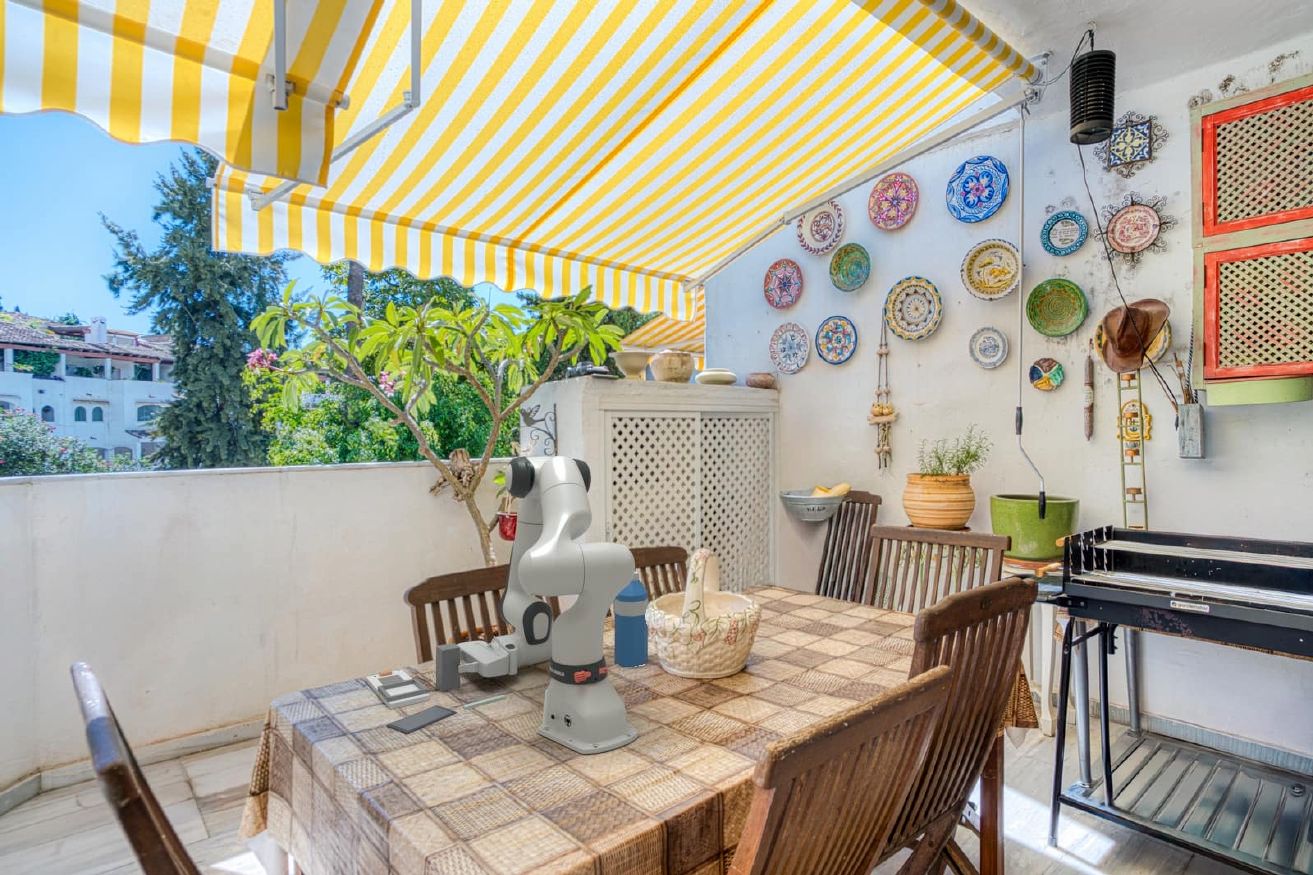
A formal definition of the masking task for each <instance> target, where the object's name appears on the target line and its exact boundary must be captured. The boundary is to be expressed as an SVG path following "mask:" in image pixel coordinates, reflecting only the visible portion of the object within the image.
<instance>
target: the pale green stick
mask: <svg viewBox="0 0 1313 875" xmlns="http://www.w3.org/2000/svg"><path fill="white" fill-rule="evenodd" d="M502 700H506V696H505V694H501V695H498V696H497V695H496V696H493V697H490V698H485V699H483V700H478V701H475V702H470V703H466V704H464V705H462V709H463V710H469V709H473V708H476V707H480V706H484V705H487V704H491V703H494V702H498V701H502Z"/></svg>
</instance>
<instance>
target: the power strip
mask: <svg viewBox="0 0 1313 875" xmlns="http://www.w3.org/2000/svg"><path fill="white" fill-rule="evenodd" d="M399 670H400V671H397V670H394V671H393V670H391V669H390V670H389V669H388V670H385V671H380V672H379V673H378V674H372V675H369V676H365V683H366V684H367V685H368V686H369V687H370V689H371V690H372V691H373V692H374V693H375V694H376V695H377V696H378V698H380V700H381V701H382V702H383V703H384V704H385V705H386V707H388V709H389V710H393V709H399V708H402V707H406V706H411V705H416V704H419V703H424V702H428V701H430V700H431V695H430V694H429V689H428V687H426V685H424V684H423V683H422V682H421V681H420V680H419V679H418V678H417V677H414V678H412V677H411V676H410V675H409V674H408V673H407V672H405V671H404V670H403V669H399ZM385 673H386V674H385ZM379 675H380V676H379ZM374 676H376V677H374Z"/></svg>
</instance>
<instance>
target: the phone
mask: <svg viewBox="0 0 1313 875" xmlns="http://www.w3.org/2000/svg"><path fill="white" fill-rule="evenodd" d="M457 713H458V712H457V711H455V710H453V709H450V708H446V707H443V706H442V705H441V706H440V705H437V704H436V705H433V706H431V707H429V708H426V709H423V710H421V711H418V712H415V713H414V714H411V715H408V716H406V717H403V718H401V719H399V720H395V721H394V722H391V723H388V724H386V728H388V729H391V730H394V731H397V732H399V733H401V734H404V735H409V734H411V733H412V734H413V733H414V732H416V731H419V730H421V729H423V728H426V727H428V726H430V725H433V724H435V723H437V722H440V721H442V720H444V719H447V718H449V717H452V716H453V715H456V714H457Z"/></svg>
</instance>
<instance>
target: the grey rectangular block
mask: <svg viewBox="0 0 1313 875" xmlns="http://www.w3.org/2000/svg"><path fill="white" fill-rule="evenodd" d="M458 664H461V660H460V647H459V646H458V645H457V644H456V643H455V642H451V643H445V644H441V645H435V686H436V688H437V689H439V691H441V692H445V691H446V692H447V691H450V690H454V689H458V688H461V673H459V672H458V671H457V665H458Z"/></svg>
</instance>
